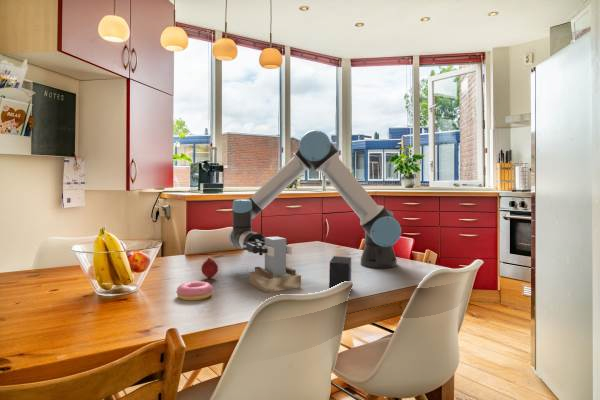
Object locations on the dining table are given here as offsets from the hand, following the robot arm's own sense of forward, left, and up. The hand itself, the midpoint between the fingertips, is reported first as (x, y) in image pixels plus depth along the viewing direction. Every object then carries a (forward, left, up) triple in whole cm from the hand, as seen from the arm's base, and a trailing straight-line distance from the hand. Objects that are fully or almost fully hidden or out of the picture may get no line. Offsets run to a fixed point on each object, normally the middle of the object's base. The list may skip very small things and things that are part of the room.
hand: (282, 251), depth 132 cm
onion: (+24, -19, -13) cm, 33 cm away
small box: (-18, +6, -13) cm, 23 cm away
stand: (+2, -5, -13) cm, 14 cm away
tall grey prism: (+2, -5, -8) cm, 10 cm away
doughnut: (+28, +3, -13) cm, 31 cm away
